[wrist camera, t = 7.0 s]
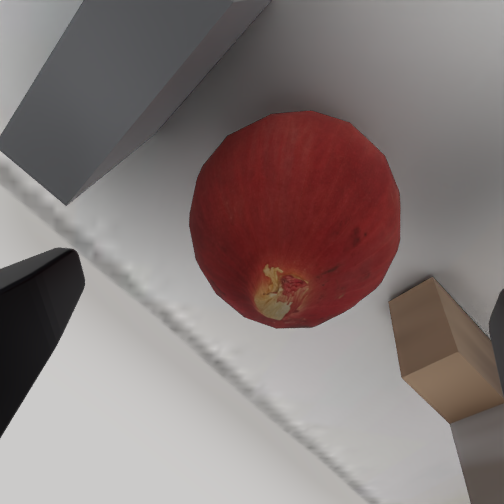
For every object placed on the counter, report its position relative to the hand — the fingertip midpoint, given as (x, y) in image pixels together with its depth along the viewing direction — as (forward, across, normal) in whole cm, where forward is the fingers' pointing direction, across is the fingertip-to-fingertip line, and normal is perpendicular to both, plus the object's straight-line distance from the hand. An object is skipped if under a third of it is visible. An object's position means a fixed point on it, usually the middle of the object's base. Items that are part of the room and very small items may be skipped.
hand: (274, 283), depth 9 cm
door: (+7, -7, +7) cm, 12 cm away
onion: (+7, 0, 0) cm, 7 cm away
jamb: (+7, +4, -4) cm, 9 cm away
